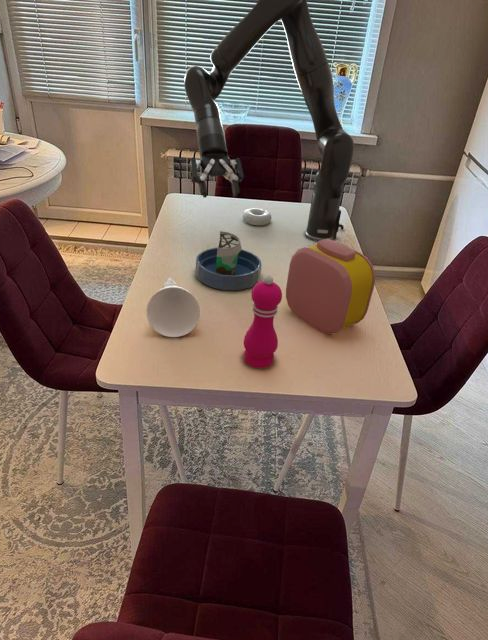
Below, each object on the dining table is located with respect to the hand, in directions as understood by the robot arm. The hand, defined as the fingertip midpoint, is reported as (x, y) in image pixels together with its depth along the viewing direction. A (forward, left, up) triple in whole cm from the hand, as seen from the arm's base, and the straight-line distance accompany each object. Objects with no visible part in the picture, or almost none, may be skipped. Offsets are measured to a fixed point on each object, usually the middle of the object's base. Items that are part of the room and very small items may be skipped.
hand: (220, 195), depth 133 cm
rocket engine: (+18, +28, -19) cm, 38 cm away
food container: (0, +10, -18) cm, 21 cm away
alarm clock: (-16, +36, -19) cm, 44 cm away
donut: (-22, -27, -19) cm, 39 cm away
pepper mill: (+5, +48, -19) cm, 52 cm away
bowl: (0, +10, -19) cm, 21 cm away
